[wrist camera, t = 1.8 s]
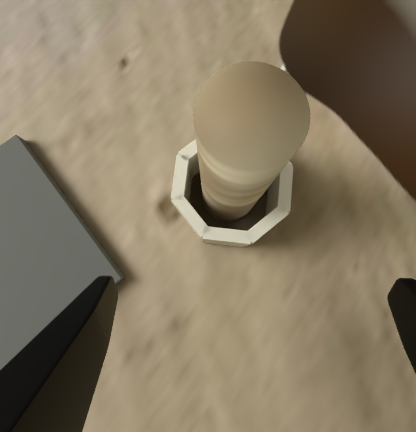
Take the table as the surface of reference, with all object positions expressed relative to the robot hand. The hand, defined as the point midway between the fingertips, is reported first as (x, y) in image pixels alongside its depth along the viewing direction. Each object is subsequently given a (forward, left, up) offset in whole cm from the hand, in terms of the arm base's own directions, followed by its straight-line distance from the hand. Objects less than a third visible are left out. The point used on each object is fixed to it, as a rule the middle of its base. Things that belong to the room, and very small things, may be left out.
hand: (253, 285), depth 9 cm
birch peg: (+4, -4, -12) cm, 14 cm away
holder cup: (+4, -4, -12) cm, 14 cm away
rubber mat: (+11, +13, -12) cm, 21 cm away
